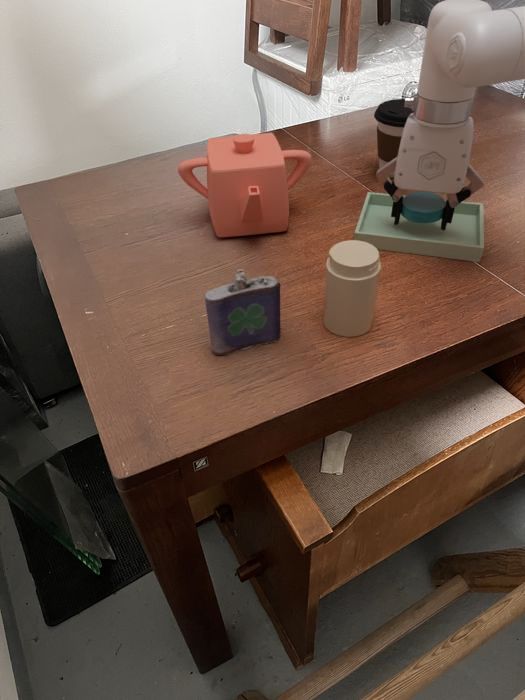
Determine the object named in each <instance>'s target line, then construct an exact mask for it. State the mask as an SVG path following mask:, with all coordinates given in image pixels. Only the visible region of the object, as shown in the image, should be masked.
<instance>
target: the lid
mask: <svg viewBox="0 0 525 700" xmlns="http://www.w3.org/2000/svg"><path fill="white" fill-rule="evenodd" d="M404 196H405V197H404V198H403V201H402V207H401V215H402V216H403V217H404V218H405V219H407V220H409V221H412V222H416V223H433V222H436V221H439V220H440V219H442V218H443V216H444V211H445V207H446V201H445V200H446V199H445V198H444V197H443V196H441V195H439V194H438V193H432V192H422V191H414V192H411V193H408V194H405V195H404Z"/></svg>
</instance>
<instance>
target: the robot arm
mask: <svg viewBox="0 0 525 700" xmlns="http://www.w3.org/2000/svg"><path fill="white" fill-rule="evenodd" d="M427 21H428V22H427V27H426V34H425V41H424V45H423V52H422V57H421V65H420V70H419V71H420V73H419V78H418V86H417V90H416V93H414V95H411V96H405V98H404V99H405V104H404V107H408V108H409V109H412V111H414V113H412V114H410V115H409V117H408V119H407V121H406V124H405V127H404V130H403V134H402V138H401V142H400V147H399V152H398V156H397V157H396V158H395V159H393V160H392V161H390V162H389V163H387V164H386V165H384V166H383V167H382V168H378V170H377V171H376V173H375V178H376V179H377V180H378V182H379V183H380V185H381V186H382V187H383V189H384V191H385V193H386V194H389V195H390V196H391V197H392V201H393V206H392V213H391V217H395V221H394V225H397V224H399V220H400V215H401V207H402V201H403V197H404V196H405V195H404V194H405V193H406V191H414V192H429V193H434V194H443V195H445V194H446V197H447V199H445V200H446V207H445V211H444V216H443V218H442V221H441V229H442V230H445V229H446V225H447V223H451V222H452V218H453V214H454V210H455V207H457V206H458V204H459V203H461V202H465V201H466V200H467V199H469V198H470V197H471V196H472V195H473V194H475V193H477V192H478V191H479V190H480V189H482V188H484V187H485V180H484V178H483V177H482V176H481V175H480V174H479V173H478V171H477V170H476V169H475V168H474V167H473V165H472V164H471V163H470V158H471V153H472V147H473V140H474V127H475V124H474V123H475V122H474V119H473V117H471V116H470V115H471V111H472V107H473V102H474V99H475V93H476V90H477V88H479V87H480V88H481V87H486V86H493V85H497V84H503V83H507V82H508V83H509V82H514V81H521V80H525V5H523V6H522V5H521V6H515V7H509V8H501V9H495V10H493V9H492V6H491V5H490V4H489V3H488V2H486V1H484V0H442V1H439V2H438V3H436V4H435V5H434V6H433V7H432V9H431V11H430V14H429V17H428V20H427ZM394 170H395V175H394V178H393V180H392V179H391V178H390V177H389V176H388V174H390V173H391V172H393V171H394ZM466 179H468V181H469V182H470V183H468V184H467V185H465V186H464V184H465V181H466ZM402 195H403V196H402Z"/></svg>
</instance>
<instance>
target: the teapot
mask: <svg viewBox="0 0 525 700" xmlns="http://www.w3.org/2000/svg"><path fill="white" fill-rule="evenodd" d="M286 160H296V161H297V163H296V165H295V167H294V169H293V170H292V172H291V173H290V175H289V176H288V177H287V170H286V163H285V161H286ZM311 163H312V155H311V153H309V152H308V151H306V150H304V149H303V150H302V149H285V150H282V148H281V146H280V143H279V141H278V139H277V137H276V135H275V134H274V133H273V132H264V133H263V132H262V133H251V134H250V133H239V134H236V135H229V136H228V135H226V136H217V137H209V138H208V139H207V142H206V157H196V158H190V159H186V160H183V161H181V162H180V163H179V164H178V166H177V174H178V175H179V177H180V178H181V179H182V181H183V182H184V183H185V184H186V185H187V186H188V187H190V188H191V189H192V190H194V191H195V192H196V193H198V194H200V195H201V196H202V197H204V198H205V199H207V201H208V210H209V214H210V219H211V222H212V226H213V229H214V233H215V235H216V237H218V238H231V237H243V236H253V235H262V234H274V233H282V232H286V231H287V230H288V228H289V221H290V200H289V199H290V197H289V191H290V189H292V187H293V186H295V185H296V184H297V182H299V181H300V179H302V178H303V176H305V174H306V172H307V171H308V170H309V168H310V165H311ZM202 167H206V187H205V186H204V184H202V183H201V181H199V179H198V178H197V177H196V175H195V174H194V172H193V170H194V169H196V168H202Z"/></svg>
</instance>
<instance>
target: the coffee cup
mask: <svg viewBox="0 0 525 700" xmlns="http://www.w3.org/2000/svg"><path fill="white" fill-rule="evenodd" d="M404 104H405V98H393V99H390V100H385V101H383V102H381V103H379V104H378V106H377V108H376V109H375V112H374V114H373V118H374V119H375V121H376V122H377V126H376V143H377V144H376V145H377V157H378V169H380V168H382V167H383V166H384V165H386V164H387V163H389V162H390V161H392V160H393V159H395V158H396V157H397V156H398V152H399V147H400V142H401V138H402V134H403V130H404V127H405V124H406V121H407V119H408V117H409V115H410V114H412V113H414V111H412V109H409V108H408V107H404ZM394 175H395V170H394V171H393V172H391V173H390V174H388V176H389V178H390V179H391V178H392V179H394Z"/></svg>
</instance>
